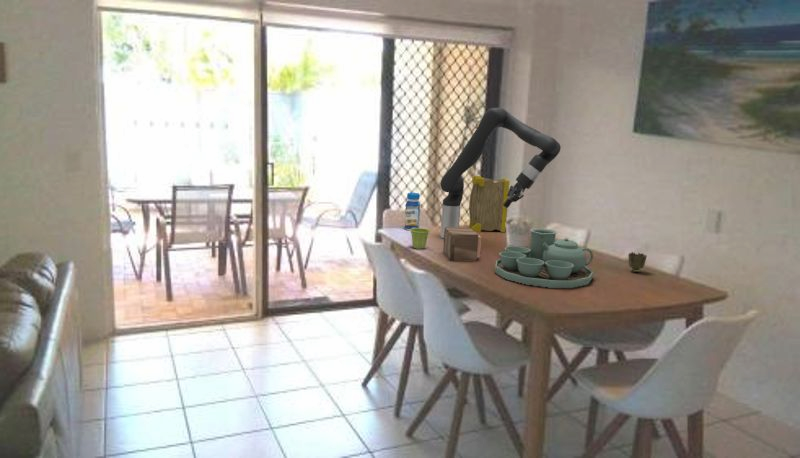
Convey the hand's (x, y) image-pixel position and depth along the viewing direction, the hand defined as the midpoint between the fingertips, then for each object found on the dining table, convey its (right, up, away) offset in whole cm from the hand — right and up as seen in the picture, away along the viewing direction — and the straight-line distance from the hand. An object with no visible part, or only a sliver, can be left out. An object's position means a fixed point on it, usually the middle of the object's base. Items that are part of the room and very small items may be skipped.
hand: (505, 206), depth 284 cm
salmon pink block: (-18, -22, -2) cm, 28 cm away
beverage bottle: (-42, -11, +55) cm, 70 cm away
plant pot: (-39, -19, +12) cm, 45 cm away
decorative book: (0, -11, +62) cm, 63 cm away
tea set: (+11, -30, -28) cm, 42 cm away
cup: (+54, -29, -15) cm, 64 cm away
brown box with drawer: (-21, -23, -2) cm, 31 cm away
